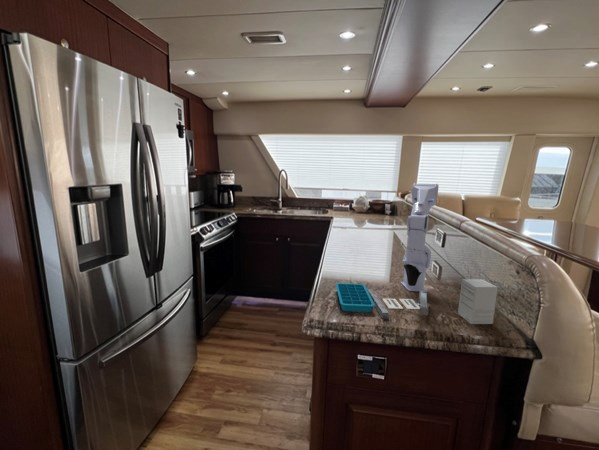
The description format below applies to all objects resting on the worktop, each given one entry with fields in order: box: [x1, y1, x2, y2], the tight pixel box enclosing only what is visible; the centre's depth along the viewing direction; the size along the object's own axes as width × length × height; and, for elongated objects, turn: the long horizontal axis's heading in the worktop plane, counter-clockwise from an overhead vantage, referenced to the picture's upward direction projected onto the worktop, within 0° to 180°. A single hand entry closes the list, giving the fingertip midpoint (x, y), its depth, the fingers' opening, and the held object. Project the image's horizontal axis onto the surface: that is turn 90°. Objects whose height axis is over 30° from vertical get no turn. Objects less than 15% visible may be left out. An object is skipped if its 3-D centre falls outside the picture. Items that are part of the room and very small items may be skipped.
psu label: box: [381, 298, 404, 310], centre depth 102 cm, size 8×5×1 cm, turn 1°
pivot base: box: [415, 300, 430, 308], centre depth 102 cm, size 5×5×1 cm
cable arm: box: [417, 290, 429, 316], centre depth 95 cm, size 16×3×5 cm, turn 157°
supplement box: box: [457, 278, 499, 325], centre depth 91 cm, size 7×7×13 cm
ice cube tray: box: [335, 282, 375, 313], centre depth 104 cm, size 12×20×3 cm, turn 178°
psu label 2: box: [398, 298, 420, 311], centre depth 102 cm, size 8×5×1 cm, turn 1°
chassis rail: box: [366, 288, 390, 319], centre depth 101 cm, size 20×2×2 cm, turn 1°
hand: (411, 285), depth 101 cm, fingers closed
